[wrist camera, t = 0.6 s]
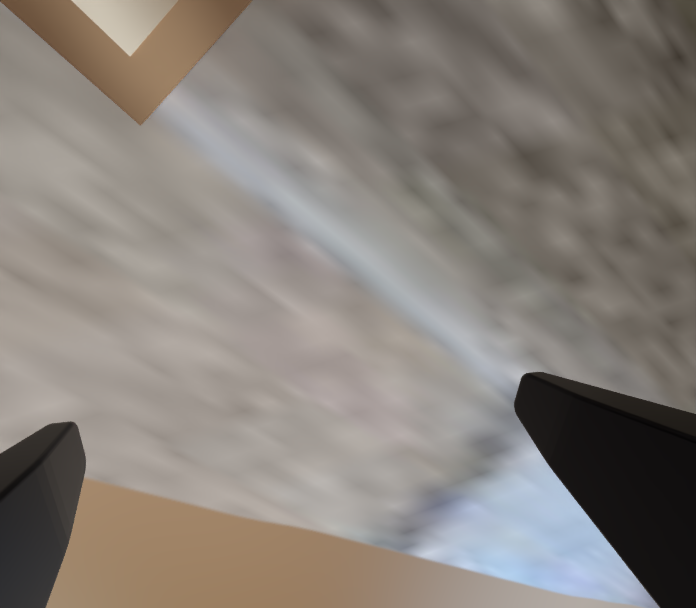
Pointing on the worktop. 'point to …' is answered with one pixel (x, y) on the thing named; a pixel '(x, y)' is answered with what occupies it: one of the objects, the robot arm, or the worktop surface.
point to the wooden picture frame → (130, 41)
